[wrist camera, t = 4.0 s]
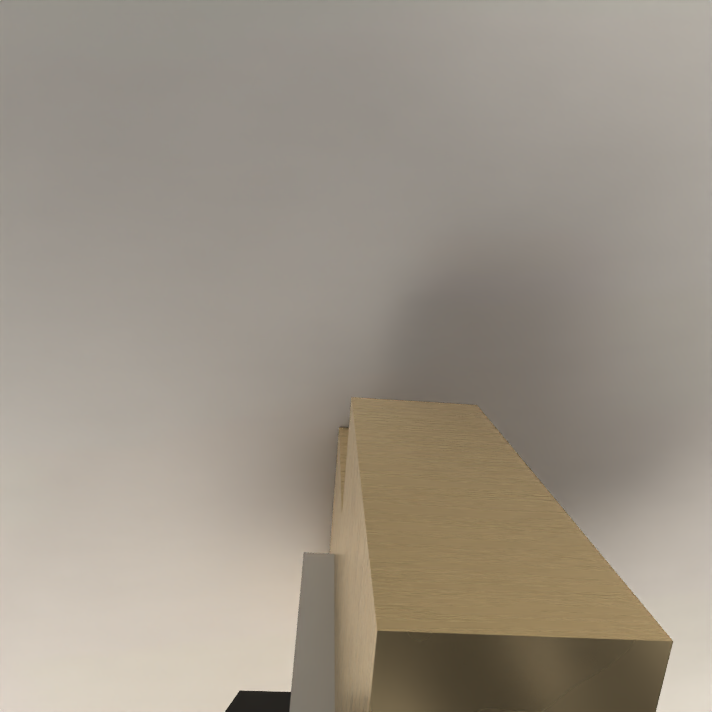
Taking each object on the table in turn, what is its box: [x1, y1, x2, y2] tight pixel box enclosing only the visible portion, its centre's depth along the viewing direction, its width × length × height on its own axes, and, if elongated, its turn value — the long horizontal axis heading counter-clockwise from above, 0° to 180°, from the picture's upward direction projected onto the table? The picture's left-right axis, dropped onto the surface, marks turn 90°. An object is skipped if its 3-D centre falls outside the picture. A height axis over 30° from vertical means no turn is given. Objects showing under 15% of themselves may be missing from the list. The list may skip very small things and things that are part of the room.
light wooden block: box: [330, 397, 673, 712], centre depth 11 cm, size 12×2×11 cm, turn 176°
